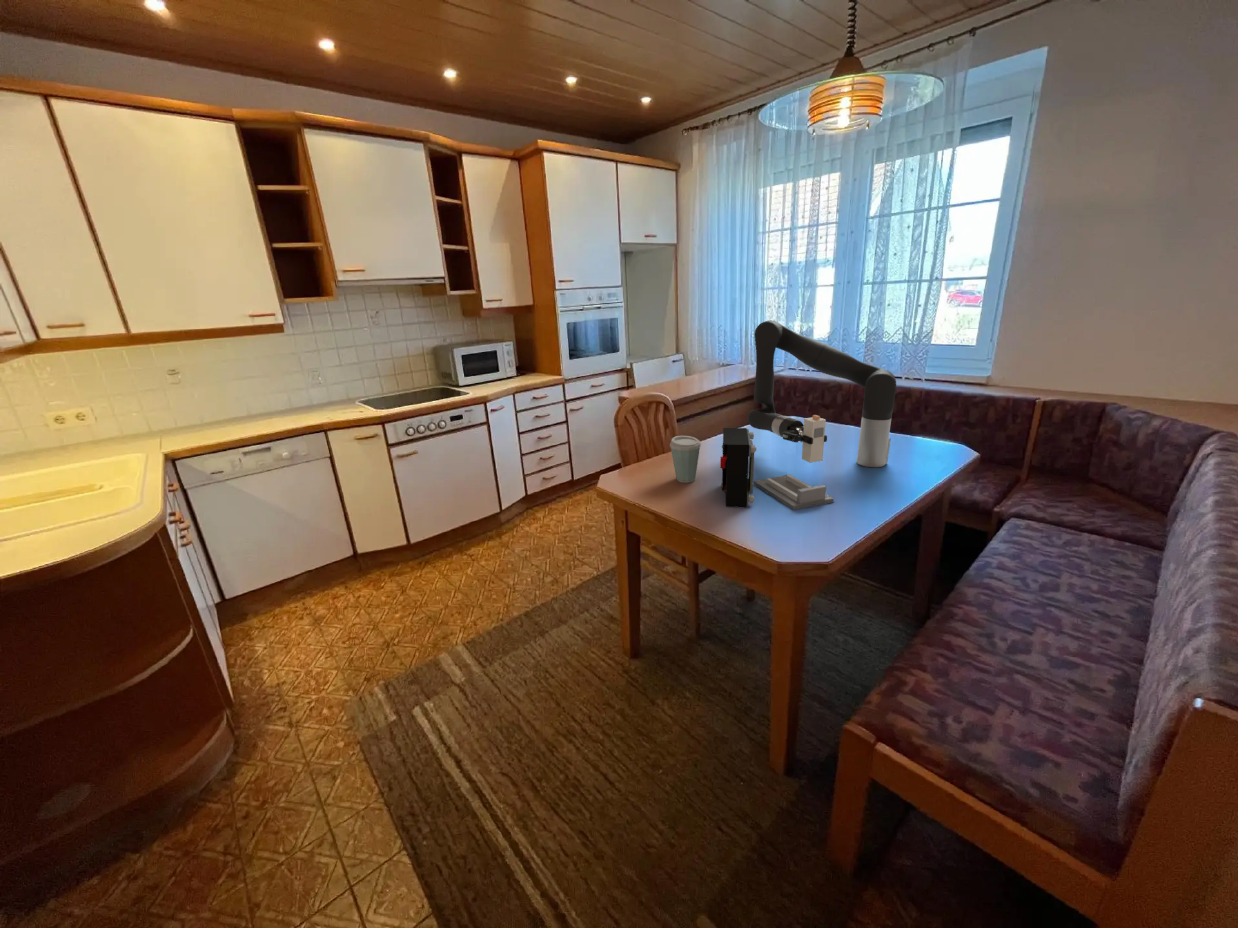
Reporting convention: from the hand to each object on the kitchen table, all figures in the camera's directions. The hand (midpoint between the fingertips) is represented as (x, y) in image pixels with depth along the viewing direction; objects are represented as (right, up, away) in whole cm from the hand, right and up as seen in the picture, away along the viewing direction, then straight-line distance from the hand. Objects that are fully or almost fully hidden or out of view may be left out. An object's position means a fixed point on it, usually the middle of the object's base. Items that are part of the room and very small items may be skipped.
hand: (818, 440), depth 159 cm
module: (0, -6, +5) cm, 8 cm away
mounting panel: (-10, -17, -2) cm, 20 cm away
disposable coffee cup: (-41, -13, +13) cm, 45 cm away
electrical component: (-27, -18, -2) cm, 33 cm away
